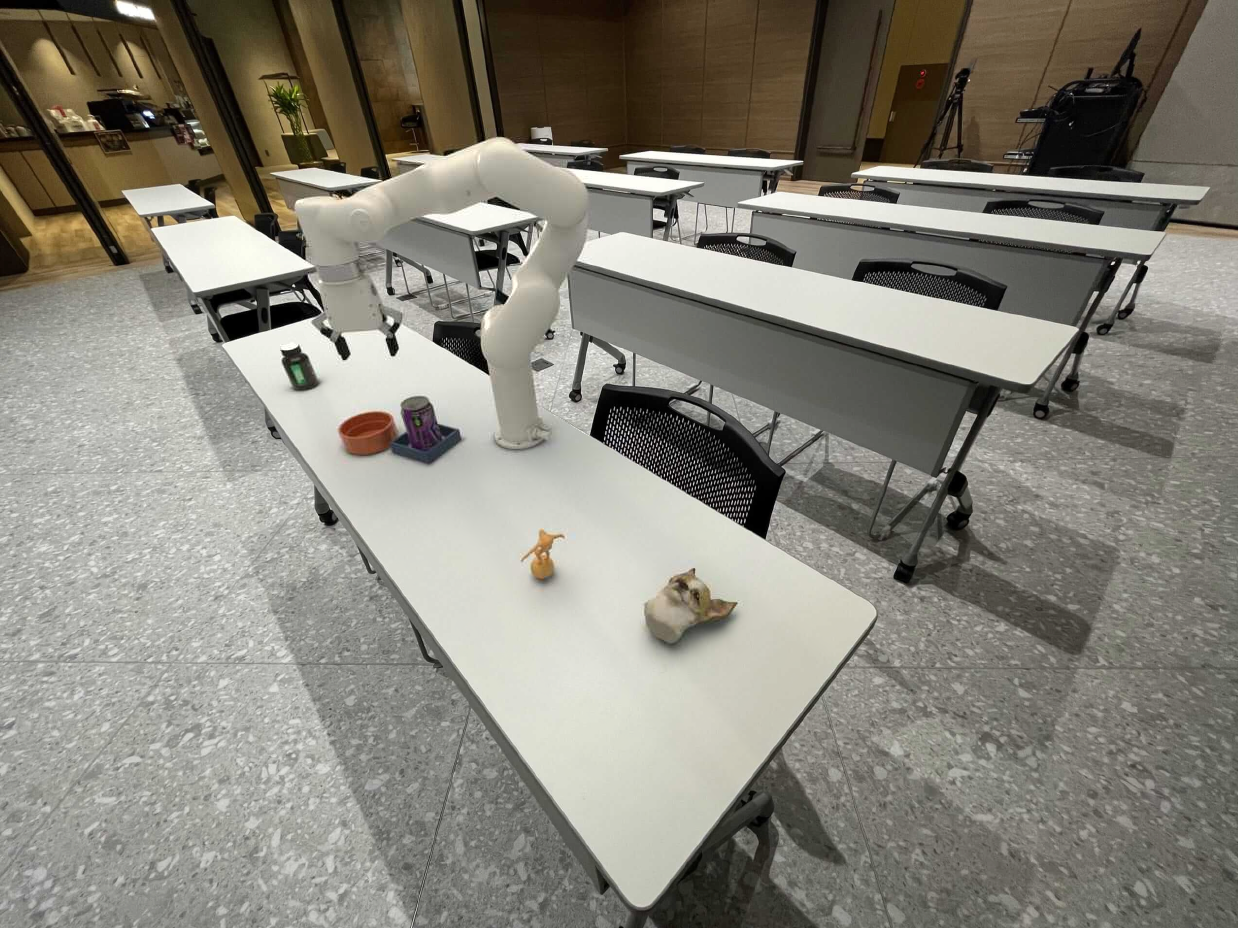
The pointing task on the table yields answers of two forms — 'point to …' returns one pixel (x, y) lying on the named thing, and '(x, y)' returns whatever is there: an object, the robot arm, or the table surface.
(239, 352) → the table surface
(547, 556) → the figurine
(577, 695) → the table surface
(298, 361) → the supplement bottle
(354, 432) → the bowl
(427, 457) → the blue square frame
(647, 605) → the ceramic sculpture
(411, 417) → the beverage can
